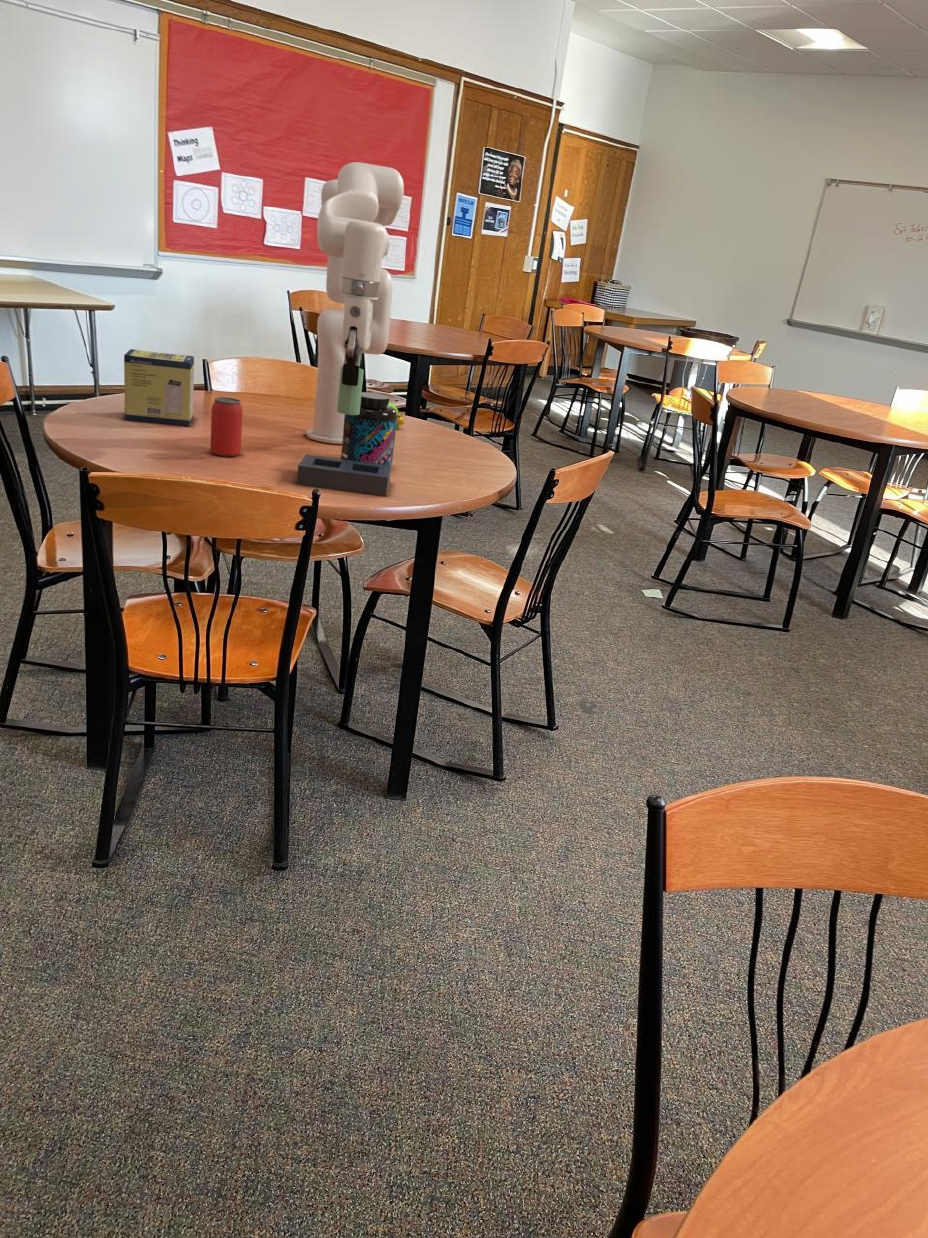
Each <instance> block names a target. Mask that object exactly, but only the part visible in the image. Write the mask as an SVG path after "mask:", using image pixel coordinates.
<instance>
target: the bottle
mask: <svg viewBox="0 0 928 1238" xmlns="http://www.w3.org/2000/svg"><path fill="white" fill-rule="evenodd" d="M358 366H359V376H358V385H357V386H351V385H344V384H342V373H343V367H341V371H340V383H339V394H338V406H337V412H339V413H341V414H346V415H359V413H360V404H361V393H362V392H363V381H364V371H365V370H364V369H363V368H362V369H360V356H359V362H358Z"/></svg>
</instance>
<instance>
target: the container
mask: <svg viewBox="0 0 928 1238" xmlns="http://www.w3.org/2000/svg"><path fill="white" fill-rule="evenodd" d="M389 402H390V397H389V396H388V395H385V394H381V393H376V392H368V391H367V392H366V391H362V393H361V404H360V413H359V415H346V414H345V418H344V429H343V440H342V444H341V450H340V451H341V453H340V459H344V460H351V461H358V462H366V463H373V464H380V465H387V466H391V467H392V464H393V457H394V448H395V441H396V440H395V439H396V430H397V429H396V423H397V412H396V410H395V409H394V408H393V407H391V406H388V404H389Z"/></svg>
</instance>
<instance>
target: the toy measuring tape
mask: <svg viewBox="0 0 928 1238" xmlns="http://www.w3.org/2000/svg"><path fill="white" fill-rule="evenodd" d="M388 406H391V407H393V408H394V409H395V410H396V412H397V423H396V430H397V429H400V426H403V425H404V423H405V419H404V418H403V414H402V413H401V414H399V410H398V408H397V407H396V405H395V404H394V403H392V402H390V401H389V404H388Z"/></svg>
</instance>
